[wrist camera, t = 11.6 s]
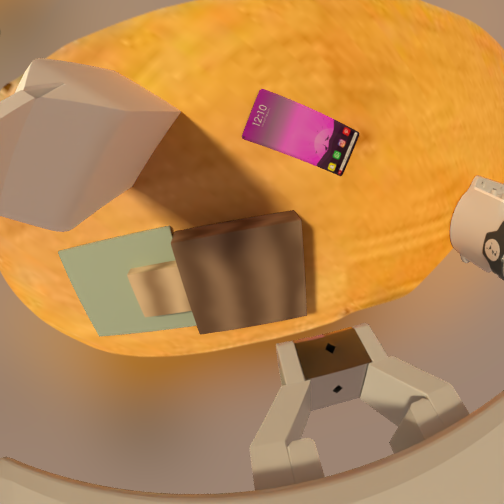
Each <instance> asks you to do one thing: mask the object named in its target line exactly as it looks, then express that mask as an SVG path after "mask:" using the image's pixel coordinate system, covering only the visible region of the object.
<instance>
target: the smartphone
mask: <svg viewBox="0 0 504 504" xmlns="http://www.w3.org/2000/svg"><path fill="white" fill-rule="evenodd" d="M358 136H359V132H357V131H355V130H354V129H352V128H350V127H348V126H346V125H344V124H342V123H340V122H338V121H336V120H334V119H332V118H330V117H328V116H326V115H324V114H322V113H320V112H317V111H315V110H313V109H311V108H309V107H306V106H304V105H302V104H300V103H297V102H295V101H292V100H290V99H288V98H285V97H283V96H280V95H278V94H275V93H272V92H270V91H267V90H264V89H261V90H260V91H259V93H258V95H257V98H256V100H255V103H254V105H253V108H252V110H251V113H250V116H249V118H248V121H247V123H246V126H245V129H244V131H243V134H242V138H243V139H244V140H247V141H250V142H253V143H256V144H259V145H262V146H265V147H268V148H271V149H273V150H276V151H279V152H282V153H284V154H287V155H290V156H292V157H295V158H297V159H300V160H303V161H305V162H308V163H310V164H313V165H315V166H318V167H320V168H322V169H325V170H327V171H330V172H332V173H334V174H337V175H339V176H342V174H343V172H344V170H345V167H346V165H347V163H348V160H349V158H350V156H351V153H352V151H353V148H354V146H355V143H356V141H357V139H358Z"/></svg>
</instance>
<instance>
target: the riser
mask: <svg viewBox="0 0 504 504" xmlns="http://www.w3.org/2000/svg"><path fill="white" fill-rule="evenodd" d="M171 247H172V250H173V254H174V257H175V260H176V264H177V267H178V270H179V273H180V277H181V280H182V283H183V286H184V289H185V292H186V295H187V298H188V301H189V304H190V307H191V310H192V313H193V316H194V319H195V322H196V325H197V328H198V330H199V333H200V334H207V333H213V332H220V331H226V330H233V329H239V328H245V327H250V326H256V325H262V324H267V323H272V322H278V321H283V320H288V319H293V318H298V317H302V316H307V307H306V285H305V266H304V250H303V236H302V223H301V219H300V218H299V216H298V215H297V214H296V212H295V211H294V210H292V211H286V212H280V213H273V214H267V215H262V216H256V217H250V218H244V219H238V220H233V221H227V222H222V223H216V224H211V225H205V226H200V227H195V228H190V229H184V230H179V231H175V232H174V235H173V238H172V241H171Z"/></svg>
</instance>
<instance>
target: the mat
mask: <svg viewBox="0 0 504 504" xmlns="http://www.w3.org/2000/svg"><path fill="white" fill-rule="evenodd" d="M172 238H173V236H172V232H171V228H170V226H165V227H160V228H156V229H151V230H146V231H142V232H137V233H132V234H128V235H123V236H119V237H114V238H110V239H106V240H101V241H97V242H93V243H89V244H85V245H81V246H76V247H72V248H68V249H64V250H60V251H59V252H58V254H59V256H60V258H61V261H62V263H63V265H64V268H65V270H66V272H67V274H68V277H69V279H70V281H71V283H72V285H73V287H74V289H75V292H76V294H77V296H78V298H79V300H80V302H81V304H82V305H83V307H84V309H85V311H86V313H87V315H88V317H89V319H90V320H91V322H92V324H93V326H94V328H95V329H96V331H97V333H98V335H99V336H110V335H121V334H131V333H141V332H150V331H158V330H166V329H174V328H182V327H189V326H196V322H195V319H194V316H193V313H192V311H187V312H180V313H173V314H166V315H159V316H152V317H145V316H144V314H143V312H142V310H141V308H140V305H139V303H138V301H137V298H136V296H135V294H134V291H133V289H132V287H131V284H130V282H129V279H128V277H127V274H128V272H129V270H130V269H131V268H137V267H142V266H147V265H153V264H158V263H163V262H169V261H174V260H175V257H174V254H173V250H172V247H171V241H172Z"/></svg>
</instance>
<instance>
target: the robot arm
mask: <svg viewBox="0 0 504 504" xmlns="http://www.w3.org/2000/svg"><path fill="white" fill-rule="evenodd" d="M450 239H451V243H452V246H453V247H454V249H455V250H456V251H458V252H459V253H460V256H461V259H462V261H463V262H465V263H468V262H470V261H471V262H472V263H474V264H475V265H477V266H479V267H480V268H481V269H483V270H484V271H486V272H490V271H493V272H494V273H495V274H496V275H497V276H498V277H499V278H501V279H503V280H504V184H502V183H499V182H496V181H493V180H490V179H487V178H484V177H481V176H475V178H474V179H473V181H472V184H471V186H470V188H469V189H468V191H467V192H466V193H465V194H464V195H463V196H462V198H461V199H460V201H459V202H458V204H457V206H456V208H455V211H454V213H453V217H452V220H451V226H450ZM276 350H277V358H278V366H279V372H280V378H281V382H282V386H281V388H280V390H279V392H278V394H277V396H276V398H275V400H274V402H273V404H272V406H271V408H270V410H269V412H268V414H267V416H266V417H265V419H264V421H263V423H262V425H261V427H260V429H259V431H258V433H257V434H256V436H255V438H254V440H253V442H252V443H251V446H250V455H251V463H252V471H253V479H254V486H255V491H246V492H235V493H220V494H168V493H152V492H142V491H133V490H126V489H118V488H112V487H107V486H102V485H97V484H91V483H87V482H83V481H79V480H74V479H71V478H67V477H63V476H60V475H57V474H53V473H50V472H47V471H44V470H41V469H38V468H35V467H32V466H29V465H27V464H25V463H22V462H19V461H17V460H15V459H12V458H9V457H3V458H0V504H504V390H503V391H502V392H501V393H499V394H498V395H497V396H495V397H494V398H493V399H491V400H490V401H488V402H487V403H486V404H484V405H483V406H481V407H480V408H478V409H477V410H476V411H474V412H472V413H471V414H469V412H468V410H467V409H466V407H465V405H464V404H463V402H462V401H461V399H460V398H459V396H458V394H457V393H456V392H455V390H454V388H453V387H452V385H451V384H450V383H448V382H446V381H444V380H441V379H440V378H437V377H435V376H433V375H431V374H429V373H427V372H425V371H423V370H421V369H419V368H417V367H414V366H413V365H411V364H409V363H407V362H404V361H402V360H400V359H398V358H396V357H394V356H390V357H388V355H387V353H386V352H385V350H384V348H383V347H382V345H381V344H380V342H379V340H378V339H377V337H376V336H375V334H374V332H373V331H372V329H371V328H370V326H369V324H367V323H363V324H360V325H356V326H352V327H348V328H345V329H341V330H337V331H334V332H329V333H326V334H322V335H318V336H313V337H308V338H303V339H298V340H293V341H289V342H283V343H277V344H276ZM356 398H360V399H361V400H362V401H364V402H365V403H366V404H368V405H369V406H371V407H372V408H373V409H375V410H376V411H377V412H379V413H380V414H381V415H383V416H384V417H386V418H387V419H388V420H390V421H391V422H393V423H394V424H396V425H397V426H398V429H397V430H396V432H395V434H394V435H393V437H392V438H391V440H390V442H389V443H390V445H391V447H392V450H393V453H394V454H392V455H390V456H387V457H386V458H382V459H380V460H377V461H375V462H372V463H369V464H366V465H363V466H361V467H358V468H354V469H352V470H348V471H345V472H342V473H338V474H335V475H331V476H327V477H324V473H323V469H322V466H321V463H320V459H319V456H318V452H317V449H316V445H315V442H314V440H312V439H309V438H305V439H301V437H302V434H303V431H304V428H305V426H306V423H307V421H308V418H309V415H310V411H313V410H316V409H320V408H324V407H327V406H331V405H334V404H338V403H342V402H346V401H349V400H352V399H356Z"/></svg>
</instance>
